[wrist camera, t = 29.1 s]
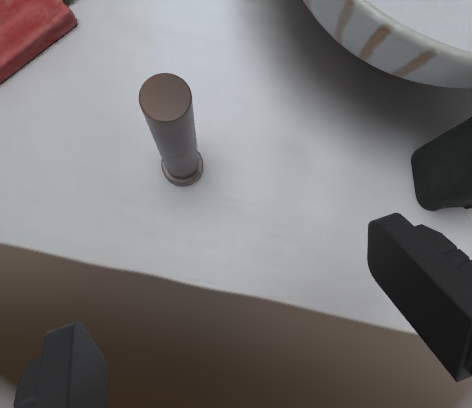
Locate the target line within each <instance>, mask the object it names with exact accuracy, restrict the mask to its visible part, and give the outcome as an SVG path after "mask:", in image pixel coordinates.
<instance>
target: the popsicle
mask: <svg viewBox="0 0 472 408" xmlns="http://www.w3.org/2000/svg"><path fill="white" fill-rule="evenodd" d="M62 1H63V0H0V83H1V82H2V81H4V80H5V79H6V78H8V77H9V76H10V75H12V74H13V73H14V72H16V71H17V70H18V69H19V68H21V67H22V66H23V65H25V64H26V63H27V62H29V61H30V60H31V59H33V58H34V57H35V56H36V55H38V54H39V53H40V52H42V51H43V50H44V49H46V48H47V47H48V46H49V45H51V44H52V43H53V42H55V41H56V40H57V39H59V38H60V37H61V36H63V35H64V34H65V33H67V32H68V31H69V30H71V29H72V28H73V27H74V26H75V25H76V24H77V20H76V18H75V16H74V15H73V13H72V11H71V10H70V9H69V8H68V7H67V6H66V5H65V4H64V3H63V2H62Z"/></svg>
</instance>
